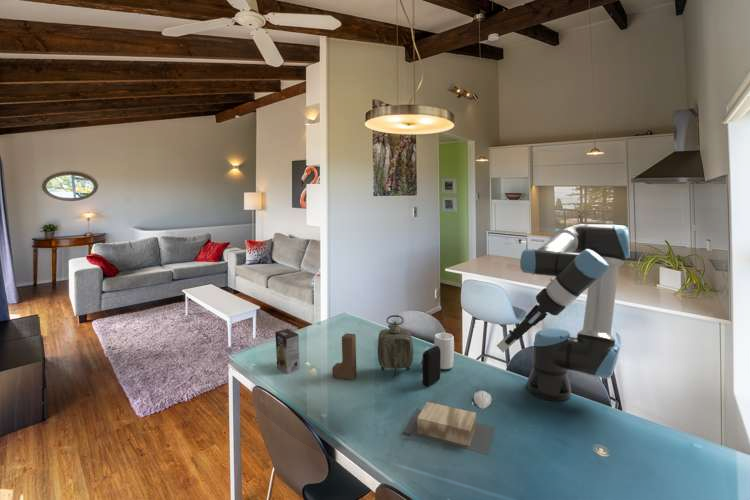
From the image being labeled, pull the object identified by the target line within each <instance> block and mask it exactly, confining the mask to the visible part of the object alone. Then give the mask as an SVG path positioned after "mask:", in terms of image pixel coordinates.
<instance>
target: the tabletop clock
mask: <svg viewBox="0 0 750 500" xmlns="http://www.w3.org/2000/svg"><path fill="white" fill-rule="evenodd" d="M390 318H400V319H401V320H402V321H401V322H398V323H397V321H394V322H393V323H392V322H390V321H389V319H390ZM404 321H405V320H404V318H403V317H402V316H401V315H398V314H393V315H392V314H391V315H390V316H387V317H386V323H387V324H388V325H391V326H390V327H389V328H385V329H382V330H380V331H379V333H378V338H377V359H378V364H379V366H380V370H381V371H384V370H385V369H394V372H393V376H394V377H397V376H398V372H397V369H405V370H406V371H410V369H411V366H412V364H413V360H414V344H413V337H412V333H411V331H410V330H408V329H406V328H405V329H404V328H401V327H400V325H403V323H404Z"/></svg>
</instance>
